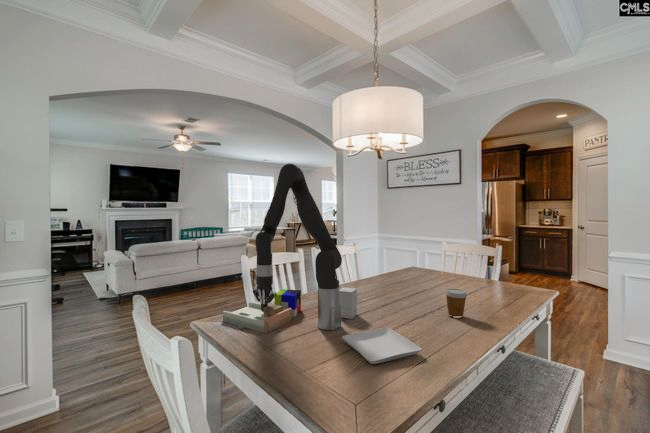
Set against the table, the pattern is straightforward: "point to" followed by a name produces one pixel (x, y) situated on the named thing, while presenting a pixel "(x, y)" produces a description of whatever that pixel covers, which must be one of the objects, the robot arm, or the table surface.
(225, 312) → the box
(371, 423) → the table surface
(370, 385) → the table surface
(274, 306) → the walnut block
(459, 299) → the disposable coffee cup
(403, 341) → the salad plate
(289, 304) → the puzzle toy
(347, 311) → the supplement box
